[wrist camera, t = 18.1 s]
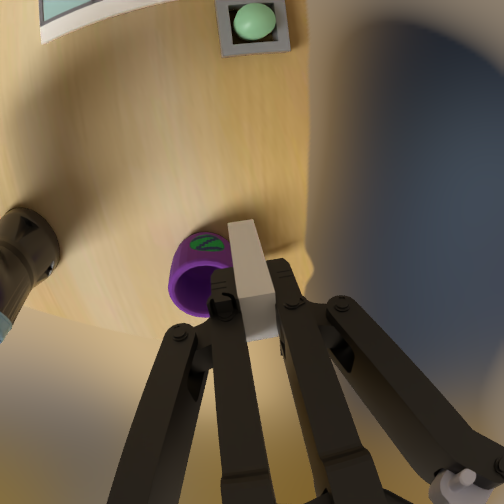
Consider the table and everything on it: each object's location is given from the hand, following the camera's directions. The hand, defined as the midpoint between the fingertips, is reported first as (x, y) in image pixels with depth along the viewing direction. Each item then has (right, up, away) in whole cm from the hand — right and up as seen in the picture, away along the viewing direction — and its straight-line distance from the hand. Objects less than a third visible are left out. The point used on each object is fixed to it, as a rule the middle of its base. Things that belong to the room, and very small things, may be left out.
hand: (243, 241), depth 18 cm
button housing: (0, +31, +16) cm, 34 cm away
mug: (-5, -1, +36) cm, 36 cm away
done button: (0, +30, +15) cm, 34 cm away
